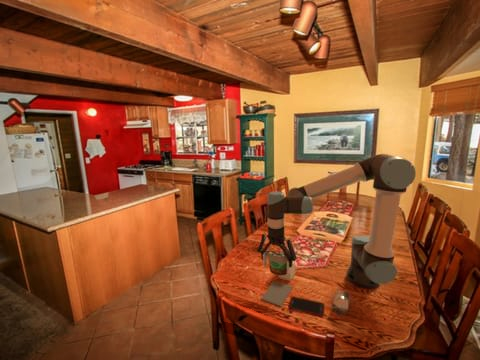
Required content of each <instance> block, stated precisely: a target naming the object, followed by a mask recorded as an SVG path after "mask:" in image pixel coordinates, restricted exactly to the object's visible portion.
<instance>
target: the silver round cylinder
mask: <svg viewBox="0 0 480 360" xmlns="http://www.w3.org/2000/svg"><path fill="white" fill-rule="evenodd" d="M350 302H351V296H350V294H349V293H348V292H347V291H344V290H338V291H336V293H335V296H334V299H333V302H332V305H331V307H332V310H333V311H334V313H335V314H336V315H338V316H339V315H340V316H345V315H347V314H348V311H349V307H350Z"/></svg>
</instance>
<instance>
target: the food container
mask: <svg viewBox="0 0 480 360" xmlns="http://www.w3.org/2000/svg"><path fill="white" fill-rule="evenodd" d="M266 253H267V260H268V265H269V272H271V273H272V274H273V275H276V276H278V275H286V274H287V260H288V259H287V257H286V255H285V254H284V252H283V251H279V250H277V251H276V250H275V251H274V250H269V249H267V250H266Z"/></svg>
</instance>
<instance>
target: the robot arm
mask: <svg viewBox="0 0 480 360" xmlns="http://www.w3.org/2000/svg"><path fill="white" fill-rule="evenodd" d="M415 178H416V168H415V166H414V164H413V163H412V162H411V161H410V160H408V159H406V158H404V157H402V156H397V155H392V154H388V153H380V154H376V155H373V156H370V157H369V156H368V157H367V158H365V159H362V160H359V161H357V162H356V163H355V164H354V165H353V166H351V167H347V168H345V169H343V170H340V171H338V172H335V173H332V174H330V175H327V176H325V177H322V178H320V179H318V180H315V181H312V182H310V183H307V184H305V185H303V186H299V187H296V186H295V187H292V188H290V189H289V190H288V192H287V196H285V193H284V192H283V191H279V190H278V191H277V190H275V191H270V192H269V193H268V194H267V196H266V197H267V198H266V206H267V207H266V210H267V212H266V213H267V214H266V215H267V233H266V232H263V234H261V240H260V242H259V245H258V248H257V253H260V254H261V260H262V266H263V268H264V269H265V268H266V267H267V266H268V257H267V250H269V248H270V246H271V245H272V246H276V247H278V248H280V249H281V250H282V252H283V253H284V254H285V255H286V257H287V259H288V260H287V274H288V275H289V273H290V272H291V267H292V265H293V261H295V262H296V260H297V258H298V257H297V254H296V251H295V248H294V246H293V243H292V241H293V239H292V238H291V237H289V238H286V237H285V215H286V214H287V215H288V214H289V215H292V214H293V215H302V214H303V215H309V214H312V213H313V209H314V203H313V202H314V201H313V200H314V199H316V198H319V197H322V196H324V195H327V194H330V193H332V192H334V191H338V190H340V189H343V188H346V187H348V186H351V185H354V184H357V183H359V182H364V183H366V182H368V181H373V183H372V189H373V190H374V191H375V198H374V205H373V209H372V210H373V212H372V217H371V218H372V219H371V225H370V232H369V235H361V234H360V235H359V234H358V235H354V236H353V237H352V239H351V242H350V243H351V249H350V250H351V251H350V253H351V254H350V255H351V257H350V264H349V266H348V268H347V271H346V279H347V281H348V282H349V283H351V284H352V285H353V286H355V287H358V288H360V289H364V290H365V289H366V290H373V289H374V290H375V289H377V288H378V287H379V286H380V285H385V284H389V283H390V282H393V281H394V280H395V278H397V276H398V270H397V269H398V268H397V267H396V265H395V264H394V261H395V260H394V259H395V251H394V250H393V249H392V246H393V240H394V237H395V236H394V235H395V230H396V224H397V219H398V218H397V217H398V214H399V208H400V207H399V206H400V202H401V196H402V195H403V194H405V193H407V189H408V187H409V186H410V185H411V184H412V183H413V182H414V180H415ZM412 185H413V184H412ZM267 239H268V240H269V241H268V242H267V244H266V245H265V242H266V240H267ZM264 245H265V246H264ZM263 247H264V248H263Z"/></svg>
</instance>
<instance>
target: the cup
mask: <svg viewBox="0 0 480 360" xmlns="http://www.w3.org/2000/svg"><path fill="white" fill-rule="evenodd" d="M295 276H296V260H295V261H293V265H292V267H291V272H290V273H289V275H288V274H286V275H277V278H278V279H281V280H284V281H288V282H290V283H291V282H292V280H293V278H294V277H295Z"/></svg>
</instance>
